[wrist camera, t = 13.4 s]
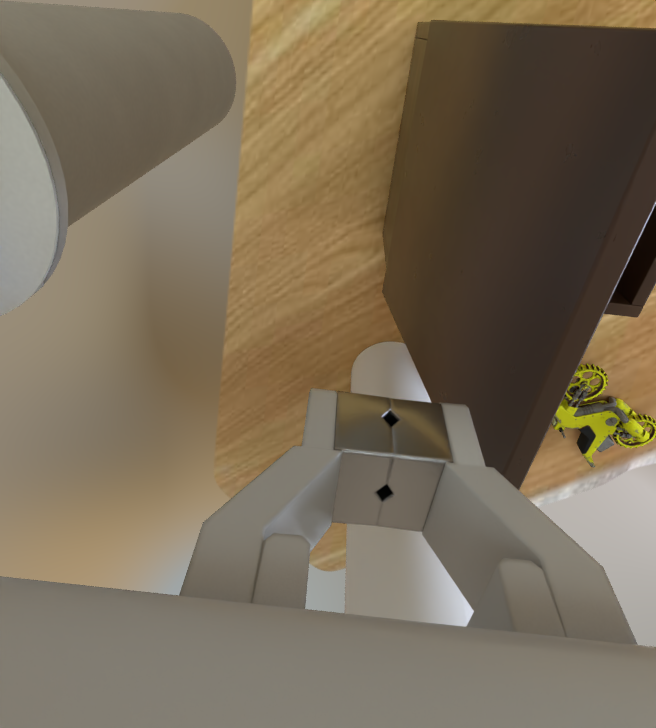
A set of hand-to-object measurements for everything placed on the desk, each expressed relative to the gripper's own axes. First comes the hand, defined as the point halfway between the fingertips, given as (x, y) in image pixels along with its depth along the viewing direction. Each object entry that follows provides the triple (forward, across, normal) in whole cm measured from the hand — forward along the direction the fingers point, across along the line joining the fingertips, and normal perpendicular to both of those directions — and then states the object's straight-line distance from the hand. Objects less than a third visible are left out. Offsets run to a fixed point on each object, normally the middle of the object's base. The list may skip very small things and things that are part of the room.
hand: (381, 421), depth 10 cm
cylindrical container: (+30, -5, +20) cm, 37 cm away
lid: (+12, -4, 0) cm, 12 cm away
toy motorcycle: (+30, -24, +21) cm, 44 cm away
